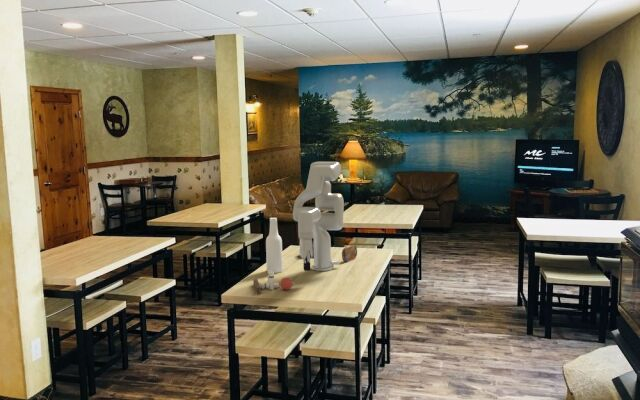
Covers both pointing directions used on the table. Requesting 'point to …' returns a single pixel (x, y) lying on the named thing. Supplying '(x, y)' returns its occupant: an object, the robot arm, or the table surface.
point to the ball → (286, 283)
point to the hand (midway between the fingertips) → (307, 270)
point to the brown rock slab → (349, 253)
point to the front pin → (265, 286)
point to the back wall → (257, 286)
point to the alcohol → (274, 248)
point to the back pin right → (268, 274)
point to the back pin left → (271, 280)
